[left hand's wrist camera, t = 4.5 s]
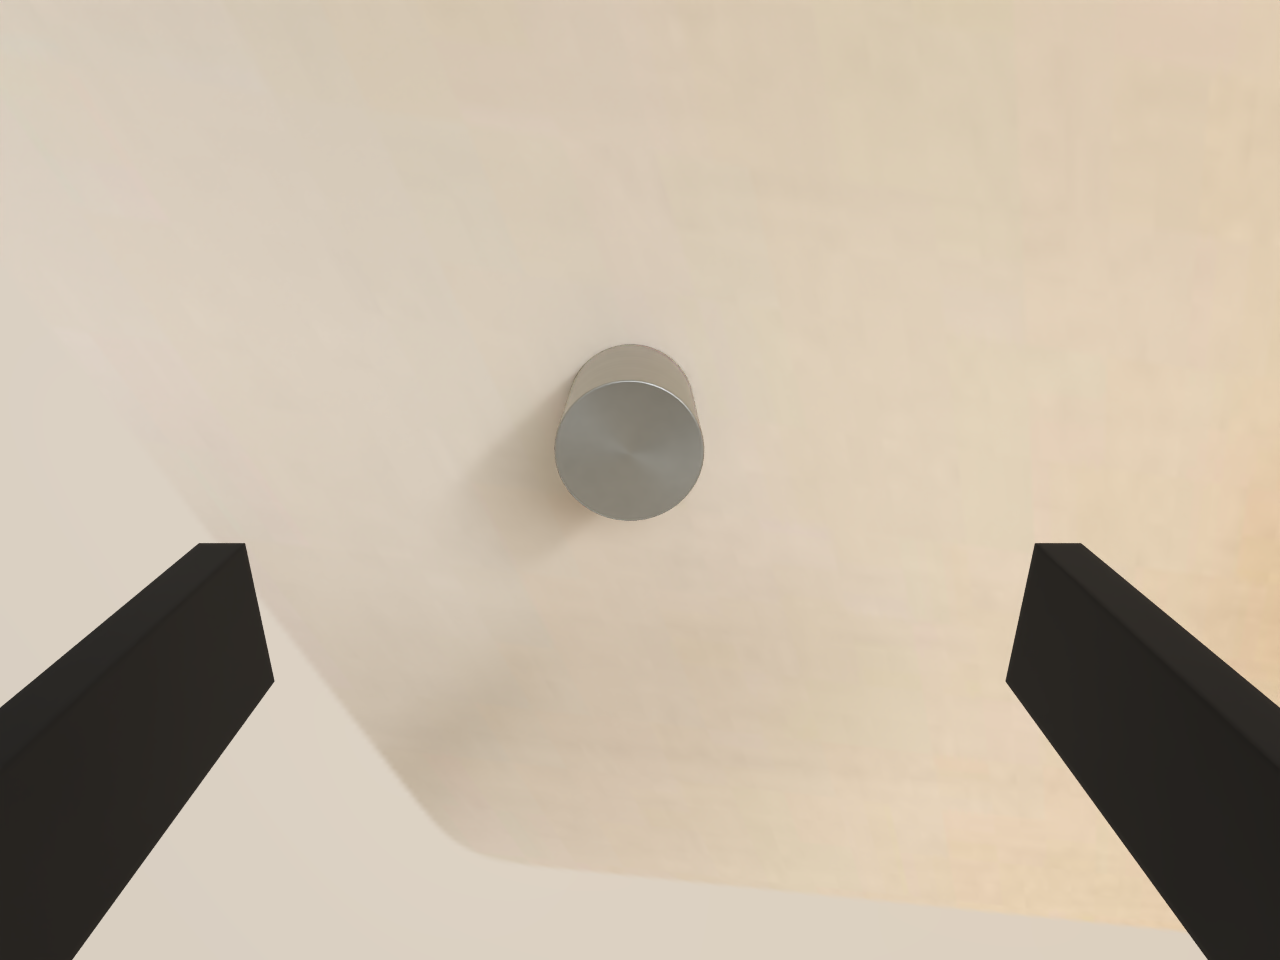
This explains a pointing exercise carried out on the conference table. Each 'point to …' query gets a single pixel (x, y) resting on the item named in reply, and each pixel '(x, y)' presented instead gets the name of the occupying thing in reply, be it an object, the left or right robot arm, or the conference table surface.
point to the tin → (629, 434)
